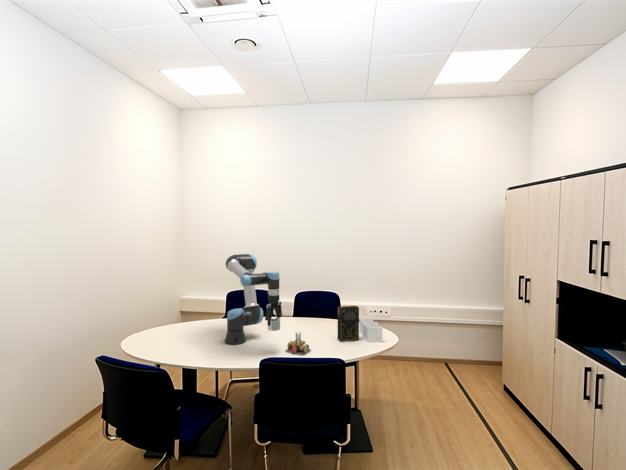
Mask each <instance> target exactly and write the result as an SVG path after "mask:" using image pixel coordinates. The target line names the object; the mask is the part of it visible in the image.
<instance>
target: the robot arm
mask: <svg viewBox="0 0 626 470" xmlns="http://www.w3.org/2000/svg"><path fill="white" fill-rule="evenodd" d="M257 263H258V261H257V259H256V257H255V255H253V253H244V254H243V253H241V254H232V255H230V256H229V257H228V258H227V259H226V261H225V267H226V269H227V270H228V272H230V273H233V274H234V275H235V276H237V277H238V278H239V279H240V280H239V281H240V284H241V286H242V287H243V294H244V303H245V306H243V307H242V308H241V307H239V308H233V309H230V310H229V311H227V314H226V316H227V317H226V328H227V331H226V334H225V338H224V343H225V344H226V345H233V346H234V345H241V344H245V342H246V341H247V336H246V335H245V330H244V327H248V326H253V325H258V324H260V323H262V321H263V319H264V320H265V321H267V331H272V321H271V319H273V318H272V317H273V313H275V314H276V317H275V319H280V320H281V318H282V316H283V312H282V301H280V272H279V271H275V270H273V271H269V272H262V273H254V272H255V270H256V268H257V266H258V264H257ZM257 285H258V286H261V285H267V294H268V296H267V301H268V302H269V303H268V304H265V315H264V310H263V308H262V307H260V304H259V303H257V302H258V301H257V292H256V286H257ZM264 316H265V318H264ZM272 332H273V331H272Z"/></svg>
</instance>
